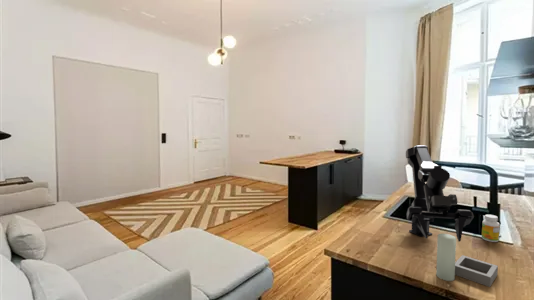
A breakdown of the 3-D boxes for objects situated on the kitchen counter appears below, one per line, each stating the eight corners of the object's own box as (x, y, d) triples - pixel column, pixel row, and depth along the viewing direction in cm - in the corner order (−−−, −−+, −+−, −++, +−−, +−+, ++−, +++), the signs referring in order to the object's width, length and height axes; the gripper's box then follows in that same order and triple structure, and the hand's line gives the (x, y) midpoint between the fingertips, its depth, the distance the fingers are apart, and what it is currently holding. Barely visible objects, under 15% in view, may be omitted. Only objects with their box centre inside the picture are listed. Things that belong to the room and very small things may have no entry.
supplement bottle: (478, 237, 112) (479, 214, 111) (490, 236, 113) (491, 213, 112) (489, 242, 107) (491, 218, 106) (502, 241, 107) (503, 218, 106)
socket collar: (461, 263, 92) (462, 255, 92) (497, 274, 85) (497, 265, 85) (452, 273, 86) (453, 264, 86) (490, 287, 79) (490, 277, 79)
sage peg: (443, 271, 88) (445, 232, 87) (458, 279, 84) (460, 238, 82) (432, 274, 87) (433, 235, 85) (446, 282, 82) (448, 241, 81)
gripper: (408, 183, 94) (414, 226, 85) (472, 186, 88) (486, 232, 79) (404, 199, 102) (409, 240, 93) (463, 203, 96) (474, 246, 87)
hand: (443, 239), depth 88 cm, fingers open, 9 cm apart
